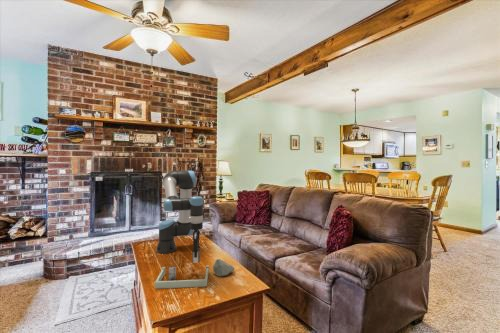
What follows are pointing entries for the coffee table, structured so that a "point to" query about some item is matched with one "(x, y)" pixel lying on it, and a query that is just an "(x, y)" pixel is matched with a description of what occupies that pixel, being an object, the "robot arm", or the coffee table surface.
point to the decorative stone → (222, 268)
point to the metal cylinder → (172, 273)
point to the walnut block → (198, 255)
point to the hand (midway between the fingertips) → (196, 260)
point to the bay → (180, 281)
